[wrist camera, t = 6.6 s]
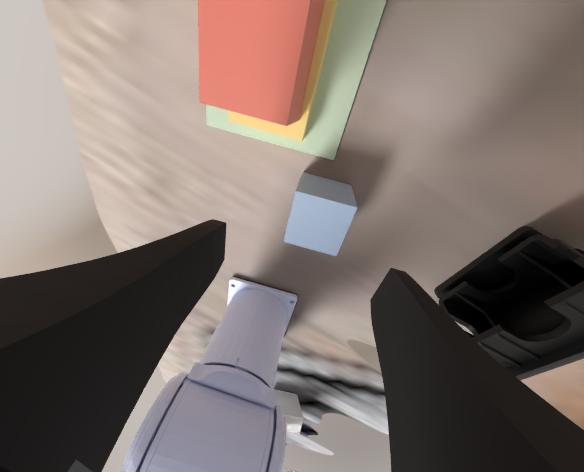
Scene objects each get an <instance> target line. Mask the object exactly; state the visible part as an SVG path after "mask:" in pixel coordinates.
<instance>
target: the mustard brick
mask: <svg viewBox="0 0 584 472" xmlns="http://www.w3.org/2000/svg"><path fill="white" fill-rule="evenodd" d="M337 4H338V0H325V3H324V7H323V12H322V17H321V21H320V26H319V31H318V35H317V40H316V45H315V49H314V54H313V59H312V63H311V68H310V73H309V77H308V82H307V87H306V91H305V96H304V101H303V105H302V110H301V115H300V119H299V121H297V122H295V123H293V124H290V125H288V126H284V125H280V124H277V123H273V122H269V121H266V120H262V119H258V118H254V117H251V116H247V115H243V114H240V113H236V112H232V111H229V112H228V121H231V122H234V123H238V124H241V125H245V126H249V127H252V128H256V129H259V130H263V131H267V132H270V133H274V134H277V135H281V136H285V137H288V138H292V139H295V140H299V141H303V139H304V138H305V136H306V132H307V128H308V124H309V119H310V115H311V111H312V107H313V103H314V99H315V95H316V91H317V86H318V82H319V78H320V74H321V70H322V66H323V62H324V58H325V53H326V49H327V45H328V41H329V37H330V33H331V29H332V25H333V21H334V16H335V12H336V8H337Z"/></svg>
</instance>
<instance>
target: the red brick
mask: <svg viewBox="0 0 584 472" xmlns="http://www.w3.org/2000/svg"><path fill="white" fill-rule="evenodd" d="M324 3H325V0H198V27H199V90H200V103H203V104H206V105H210V106H214V107H218V108H221V109H225V110H229V111H232V112H236V113H240V114H243V115H247V116H251V117H254V118H258V119H262V120H266V121H269V122H273V123H277V124H280V125H284V126H288V125H290V124H293V123H295V122H297V121H299V119H300V115H301V110H302V105H303V101H304V96H305V91H306V87H307V82H308V77H309V73H310V68H311V63H312V59H313V54H314V49H315V45H316V40H317V35H318V31H319V26H320V21H321V17H322V12H323V7H324Z"/></svg>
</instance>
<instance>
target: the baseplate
mask: <svg viewBox="0 0 584 472" xmlns="http://www.w3.org/2000/svg"><path fill="white" fill-rule="evenodd" d="M386 1H387V0H338V4H337V8H336V12H335V16H334V21H333V25H332V29H331V33H330V37H329V41H328V45H327V49H326V53H325V58H324V62H323V66H322V70H321V74H320V78H319V82H318V86H317V91H316V95H315V99H314V103H313V107H312V111H311V115H310V119H309V124H308V128H307V132H306V136H305V138H304V139H303V141H299V140H295V139H292V138H288V137H285V136H281V135H277V134H274V133H270V132H267V131H263V130H259V129H256V128H252V127H249V126H245V125H241V124H238V123H234V122H231V121H228V112H229V110H225V109H221V108H218V107H214V106H210V105H206V125H208V126H212V127H215V128H219V129H223V130H226V131H230V132H233V133H237V134H241V135H244V136H248V137H251V138H255V139H258V140H262V141H266V142H269V143H273V144H276V145H280V146H284V147H287V148H291V149H294V150H298V151H302V152H305V153H309V154H312V155H316V156H319V157H323V158H327V159H330V160H334V158H335V155H336V152H337V149H338V146H339V143H340V140H341V137H342V134H343V131H344V128H345V125H346V122H347V119H348V116H349V113H350V110H351V107H352V104H353V100H354V97H355V94H356V91H357V88H358V85H359V82H360V79H361V76H362V73H363V70H364V67H365V64H366V61H367V58H368V55H369V52H370V49H371V46H372V43H373V40H374V37H375V34H376V31H377V28H378V25H379V22H380V19H381V16H382V13H383V10H384V7H385V4H386Z"/></svg>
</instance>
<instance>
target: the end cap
mask: <svg viewBox="0 0 584 472" xmlns="http://www.w3.org/2000/svg"><path fill="white" fill-rule="evenodd" d="M435 294H436V296H437V297H438V298H440V299H439V306H440V307H441V308H442V309H443V310H444V311H445V312H446V313H447V314H448V315H449V316H450V317H451V318H452V319H453V320H454V321H456V322H458V323H460V324H461V325H463V326H465V327H467V328H468V329H469V330H470V331H471V332H472V333H473V335H472V334H470V333H468V332H466V331H465V332H466V333H467V334H468V335H469V336H470V337H471V338H472V339H474V340H475V341H476V342H477V343H478V344H479V345H480V346H481V347H482V348H483V349H484V350H485V351H486V352H488V353H489V354H490V355H491V356H492V357H493V358H494V359H496V360H497V361H498V362H499V363H500V364H501V365H503V366H504V367H505V368H506V369H507V370H508V371H510V372H511V373H512V374H513V375H514V376H515V377H517V378H518V379H519V380H523V379H526V378H529V377H531V376H534V375H537V374H540V373H543V372H546V371H549V370H552V369H555V368H557V367H560V366H563V365H566V364H569V363H572V362H575V361H578V360H580V359H583V358H584V252H583V251H582V250H580V249H573V248H572V247H570V246H569V245H567V244H566V243H564V242H563V241H561V240H559V239H554V240H552V239H550V238H548V237H547V236H545V235H543V234H541V233H539V232H538V231H536V230H535V229H533V228H531V227H528V226H526V227H521V228H519V229H517V230H516V231H515V232H513V233H512V234H510V235H509V236H508V237H506V238H505V239H503V240H502V241H501V242H499V243H498V244H496V245H495V246H494V247H492V248H491V249H489V250H488V251H487V252H485V253H484V254H482V255H481V256H480V257H478V258H477V259H476V260H474V261H473V262H471V263H470V264H469V265H467V266H466V267H464V268H463V269H462V270H460V271H459V272H457V273H456V274H455V275H453V276H452V277H450V278H449V279H448V280H446V281H445V282H443V283H442V284H441V285H439V286H438V287H436V289H435Z"/></svg>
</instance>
